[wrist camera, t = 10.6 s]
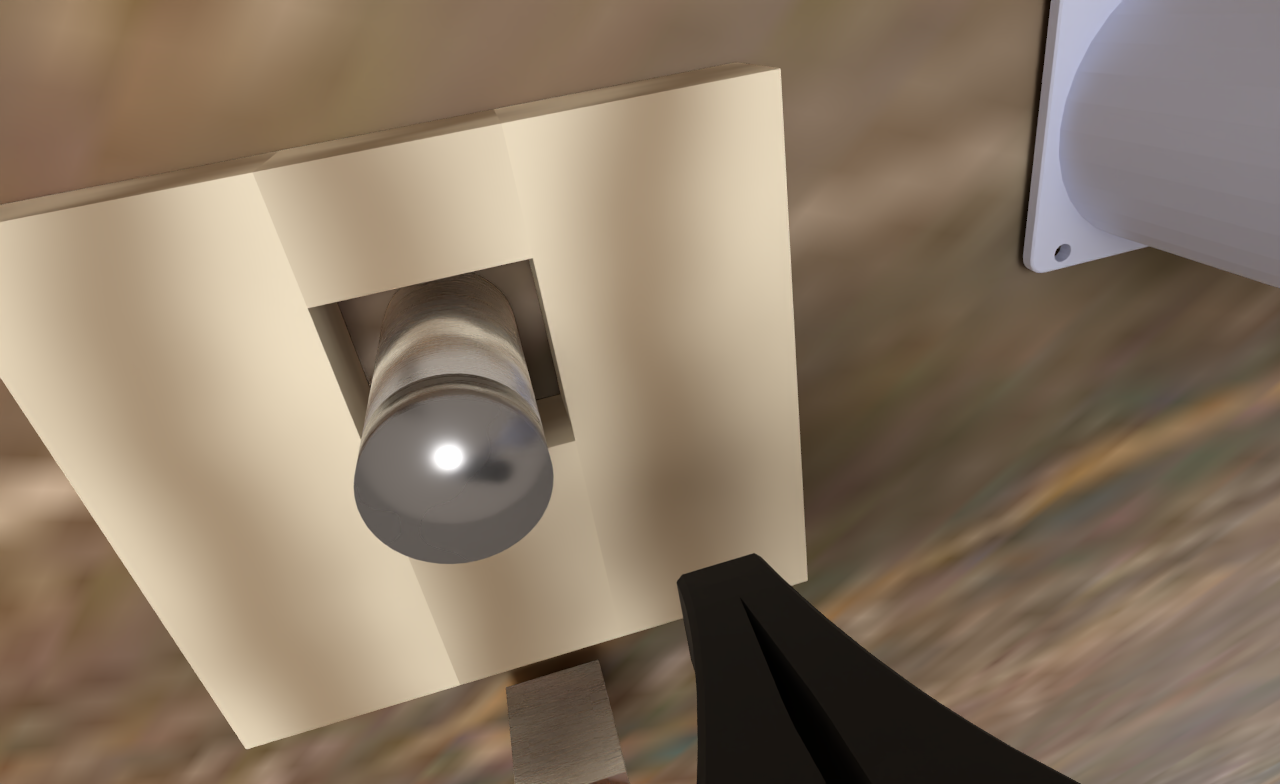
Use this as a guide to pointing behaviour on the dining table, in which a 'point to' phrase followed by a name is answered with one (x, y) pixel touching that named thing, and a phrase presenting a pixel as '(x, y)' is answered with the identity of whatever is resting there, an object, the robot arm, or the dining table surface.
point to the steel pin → (451, 427)
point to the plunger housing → (565, 729)
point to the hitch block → (338, 390)
